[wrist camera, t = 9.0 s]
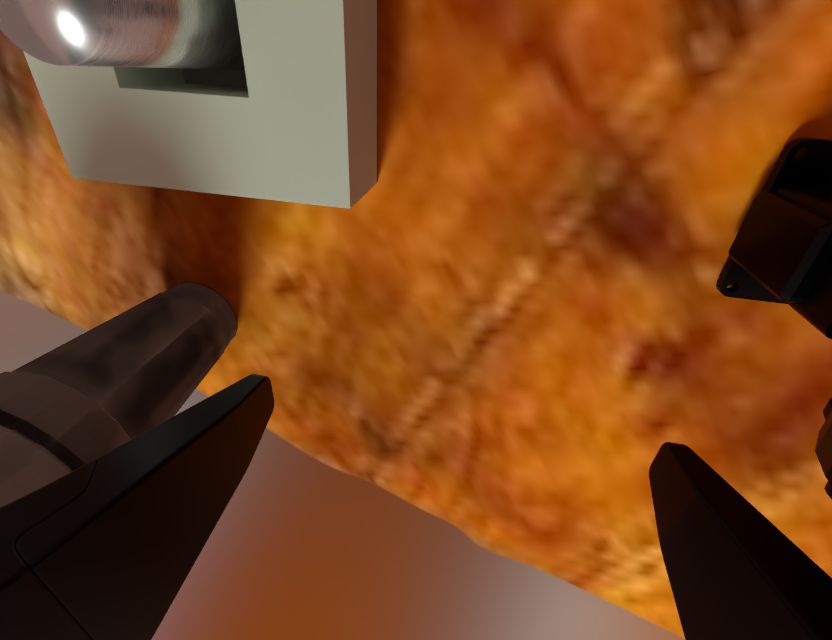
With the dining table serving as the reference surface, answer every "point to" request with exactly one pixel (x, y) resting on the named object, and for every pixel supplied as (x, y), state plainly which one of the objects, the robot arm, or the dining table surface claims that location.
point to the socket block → (235, 111)
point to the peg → (126, 32)
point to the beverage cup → (107, 385)
